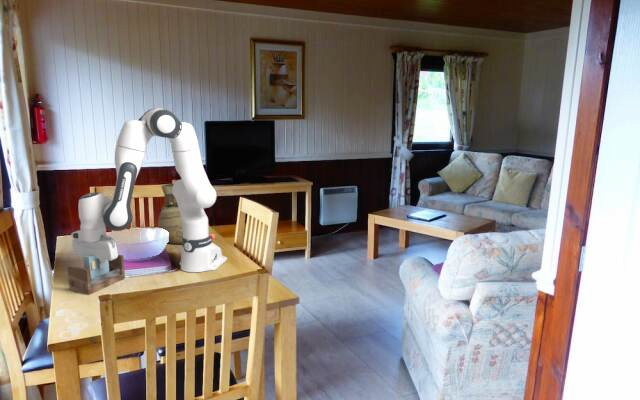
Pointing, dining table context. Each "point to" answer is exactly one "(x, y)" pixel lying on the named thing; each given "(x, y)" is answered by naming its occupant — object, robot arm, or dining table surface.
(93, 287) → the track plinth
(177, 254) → the dining table surface
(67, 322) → the dining table surface
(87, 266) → the door panel
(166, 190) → the ceramic vessel
